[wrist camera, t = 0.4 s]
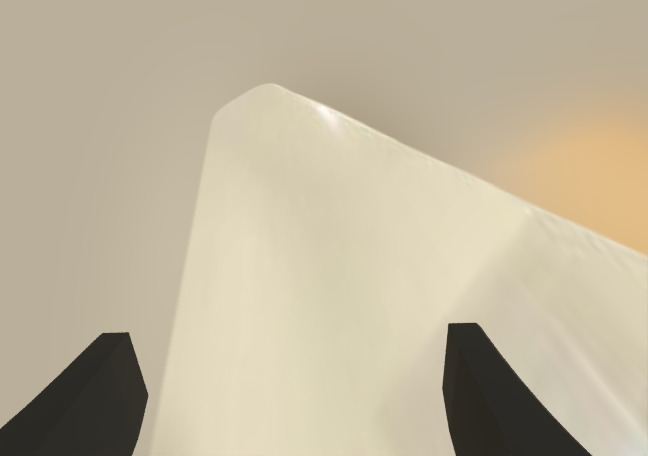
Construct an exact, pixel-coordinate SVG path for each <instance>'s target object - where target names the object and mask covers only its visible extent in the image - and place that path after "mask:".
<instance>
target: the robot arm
mask: <svg viewBox="0 0 648 456" xmlns="http://www.w3.org/2000/svg"><path fill="white" fill-rule="evenodd" d="M442 389H443V396H444V402H445V408H446V415H447V420H448V426H449V432H450V436H451V439H452V443H453V447H454V450H455V454H456V456H592V455H591V454H590V453H589V452H588V451H587V450H586V449H585V448H584V447H583V446H582V445H581V444H580V443H579V442H578V441H577V440H576V439H575V438H574V437H573V436H572V435H571V434H570V433H569V432H568V431H567V430H566V429H565V428H564V427H563V426H562V425H561V424H560V423H559V422H558V421H557V420H556V419H555V418H554V417H553V416H552V414H551V413H550V412H549V411H548V410H547V409H546V408H545V407H544V406H543V405H542V403H541V402H540V401H539V400H538V399H537V398H536V397H535V395H534V394H533V393H532V392H531V391H530V390H529V388H528V387H527V386H526V385H525V384H524V382H523V381H522V380H521V379H520V378H519V377H518V375H517V374H516V373H515V372H514V370H513V369H512V368H511V367H510V365H509V364H508V363H507V362H506V360H505V359H504V358H503V356H502V355H501V354H500V352H499V351H498V350H497V349H496V347H495V346H494V345H493V343H492V342H491V340H490V339H489V338H488V336H487V335H486V334H485V332H484V331H483V329H482V328H481V327H480V326H479V325H478V324H477V323H449V324H448V334H447V345H446V355H445V366H444V376H443V387H442ZM147 399H148V392H147V389H146V386H145V383H144V380H143V376H142V373H141V370H140V367H139V364H138V361H137V357H136V354H135V351H134V348H133V345H132V342H131V338H130V335H129V333H128V332H126V333H102V334H101V335H100V336H99V337H98V338H97V339H96V340H94V341H93V342H92V343H91V344H90V345H89V346H88V347H87V348H86V349H85V350H84V351H83V352H82V353H81V354H80V355H79V356H78V357H77V358H76V359H75V360H74V361H73V362H72V363H71V364H70V365H69V366H68V367H67V368H66V369H65V370H64V371H63V372H62V373H61V374H60V375H59V376H58V377H57V378H55V379H54V380H53V381H52V382H51V383H50V384H49V385H48V386H47V387H46V388H45V389H44V390H43V391H42V392H41V393H40V394H39V395H38V396H36V398H34V399H33V400H32V402H30V403H29V404H28V405H27V406H26V407H25V408H23V409H22V410H21V411H20V412H19V413H18V414H17V415H15V416H14V417H13V418H12V419H11V420H10V421H9V422H8V423H7V424H5V425H4V426H3V427H2V428H1V429H0V456H132V454H133V451H134V448H135V446H136V443H137V440H138V437H139V433H140V429H141V425H142V421H143V417H144V413H145V408H146V403H147Z"/></svg>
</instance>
